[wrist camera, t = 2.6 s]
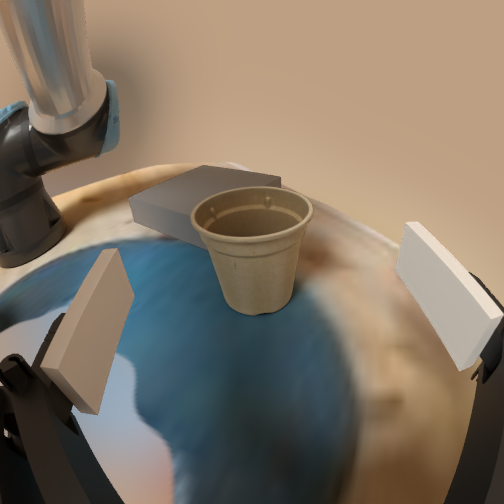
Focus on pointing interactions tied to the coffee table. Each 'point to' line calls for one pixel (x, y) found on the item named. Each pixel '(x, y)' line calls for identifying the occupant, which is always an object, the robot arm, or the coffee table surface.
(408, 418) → the coffee table surface
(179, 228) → the plinth
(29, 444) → the robot arm
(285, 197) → the flower pot
